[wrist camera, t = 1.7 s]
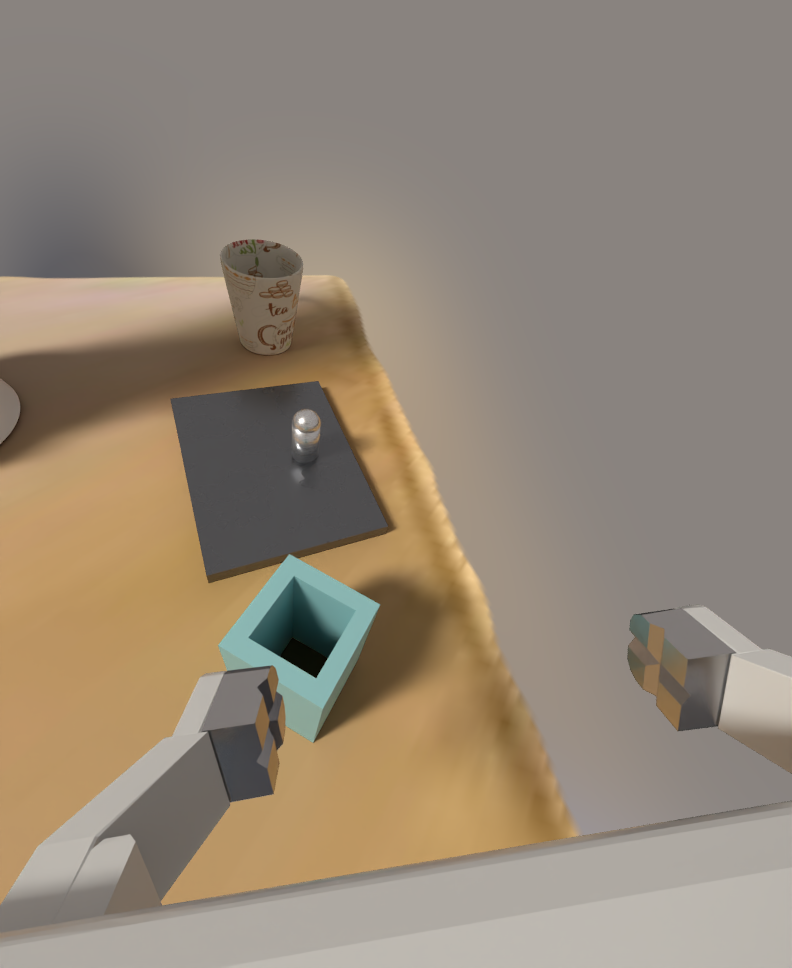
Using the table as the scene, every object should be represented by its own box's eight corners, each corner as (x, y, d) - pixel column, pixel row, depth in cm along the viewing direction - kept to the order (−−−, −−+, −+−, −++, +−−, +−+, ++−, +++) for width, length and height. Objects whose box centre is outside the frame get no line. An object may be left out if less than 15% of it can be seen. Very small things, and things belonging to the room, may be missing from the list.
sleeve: (313, 742, 28) (322, 708, 21) (236, 695, 29) (218, 645, 21) (358, 659, 32) (380, 604, 24) (288, 619, 33) (289, 553, 25)
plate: (208, 582, 33) (195, 539, 28) (173, 407, 44) (158, 353, 39) (385, 533, 39) (400, 490, 34) (317, 389, 49) (320, 340, 45)
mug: (240, 366, 49) (232, 280, 42) (213, 305, 56) (201, 221, 48) (310, 356, 53) (314, 276, 45) (277, 301, 59) (276, 221, 51)
